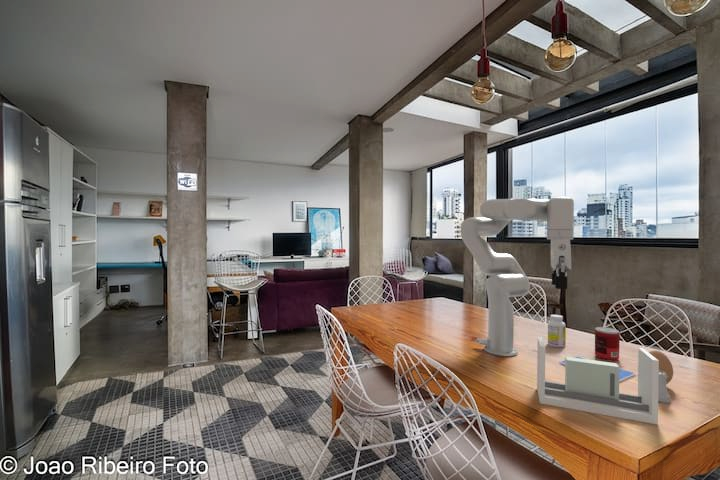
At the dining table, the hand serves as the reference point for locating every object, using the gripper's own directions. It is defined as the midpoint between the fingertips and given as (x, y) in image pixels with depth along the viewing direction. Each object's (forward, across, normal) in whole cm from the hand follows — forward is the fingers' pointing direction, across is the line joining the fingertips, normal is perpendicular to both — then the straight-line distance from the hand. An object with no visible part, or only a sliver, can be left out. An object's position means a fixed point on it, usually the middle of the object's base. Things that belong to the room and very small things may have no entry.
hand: (559, 286), depth 111 cm
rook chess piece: (+30, -5, -25) cm, 40 cm away
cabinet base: (+30, -17, -6) cm, 35 cm away
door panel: (+28, -17, -6) cm, 33 cm away
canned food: (+31, +30, -20) cm, 47 cm away
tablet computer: (+31, +14, -13) cm, 37 cm away
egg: (+30, +7, -28) cm, 42 cm away
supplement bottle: (+31, +39, -4) cm, 50 cm away
